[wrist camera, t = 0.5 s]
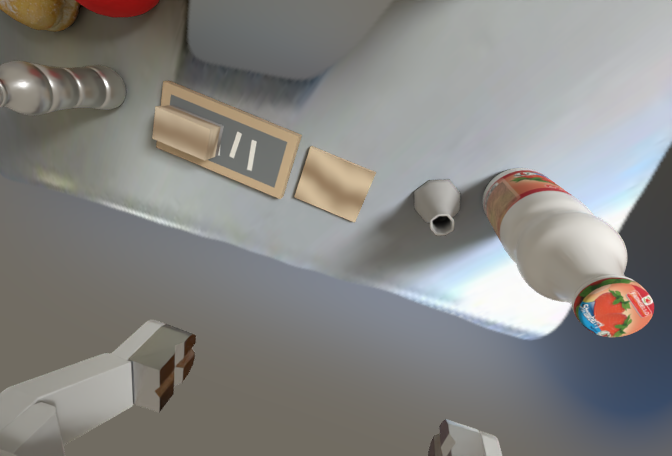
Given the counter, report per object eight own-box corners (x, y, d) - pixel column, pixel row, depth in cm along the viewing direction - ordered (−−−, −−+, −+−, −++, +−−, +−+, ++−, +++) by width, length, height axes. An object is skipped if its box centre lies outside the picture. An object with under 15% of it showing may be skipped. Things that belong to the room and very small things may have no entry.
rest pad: (311, 145, 54) (310, 146, 53) (376, 172, 53) (375, 173, 53) (295, 195, 58) (294, 197, 57) (355, 220, 57) (354, 222, 57)
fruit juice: (468, 191, 52) (522, 297, 27) (528, 152, 48) (657, 233, 23) (502, 237, 53) (584, 377, 28) (563, 203, 50) (719, 329, 25)
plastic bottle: (93, 95, 58) (-50, 102, 40) (101, 56, 55) (-49, 45, 37) (126, 116, 58) (-1, 132, 40) (136, 79, 55) (4, 78, 37)
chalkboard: (169, 80, 54) (163, 80, 53) (301, 135, 53) (298, 136, 52) (161, 145, 59) (156, 147, 58) (283, 196, 58) (280, 199, 57)
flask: (421, 227, 56) (423, 256, 47) (406, 187, 53) (405, 209, 44) (467, 213, 53) (478, 240, 44) (453, 171, 51) (462, 190, 42)
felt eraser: (172, 104, 54) (155, 106, 50) (223, 126, 54) (210, 129, 50) (168, 134, 56) (152, 138, 53) (218, 155, 56) (204, 160, 52)
